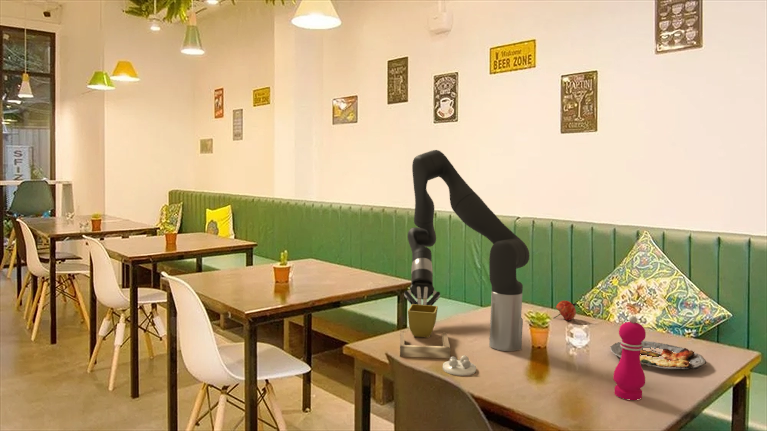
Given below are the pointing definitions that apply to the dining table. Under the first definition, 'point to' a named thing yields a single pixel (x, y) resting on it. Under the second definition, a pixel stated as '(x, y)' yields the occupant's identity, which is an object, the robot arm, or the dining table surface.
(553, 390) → the dining table surface
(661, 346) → the food plate
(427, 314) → the flower pot
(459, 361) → the pebble dish
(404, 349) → the beech tray
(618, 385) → the pepper mill
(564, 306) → the pomegranate
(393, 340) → the dining table surface
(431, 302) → the robot arm
